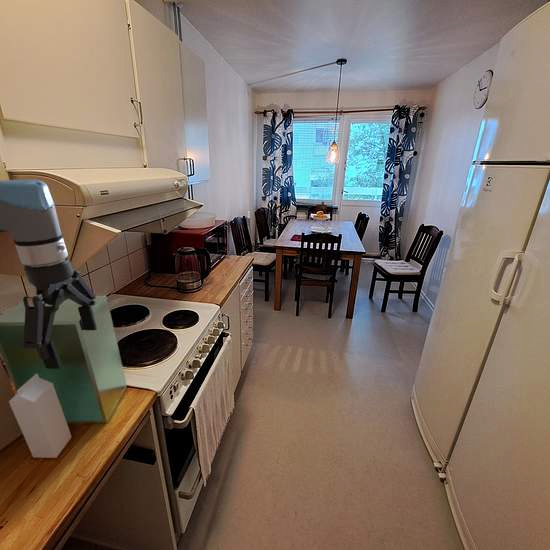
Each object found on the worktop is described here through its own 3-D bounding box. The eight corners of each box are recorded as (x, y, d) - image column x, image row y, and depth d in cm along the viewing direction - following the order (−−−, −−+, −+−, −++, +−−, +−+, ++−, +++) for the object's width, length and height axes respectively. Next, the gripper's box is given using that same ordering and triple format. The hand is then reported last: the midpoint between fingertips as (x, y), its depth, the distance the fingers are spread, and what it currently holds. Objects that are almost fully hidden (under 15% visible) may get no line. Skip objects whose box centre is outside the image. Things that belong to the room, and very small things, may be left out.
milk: (33, 457, 72) (2, 391, 64) (50, 436, 78) (24, 372, 70) (57, 458, 72) (29, 391, 64) (72, 436, 78) (49, 372, 70)
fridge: (107, 422, 82) (78, 320, 70) (30, 425, 81) (-13, 322, 68) (127, 386, 95) (106, 295, 82) (61, 389, 94) (30, 296, 81)
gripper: (16, 288, 46) (54, 387, 54) (98, 242, 69) (116, 317, 77) (-33, 288, 46) (13, 388, 54) (66, 242, 68) (88, 317, 77)
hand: (74, 347), depth 66 cm, fingers open, 13 cm apart
